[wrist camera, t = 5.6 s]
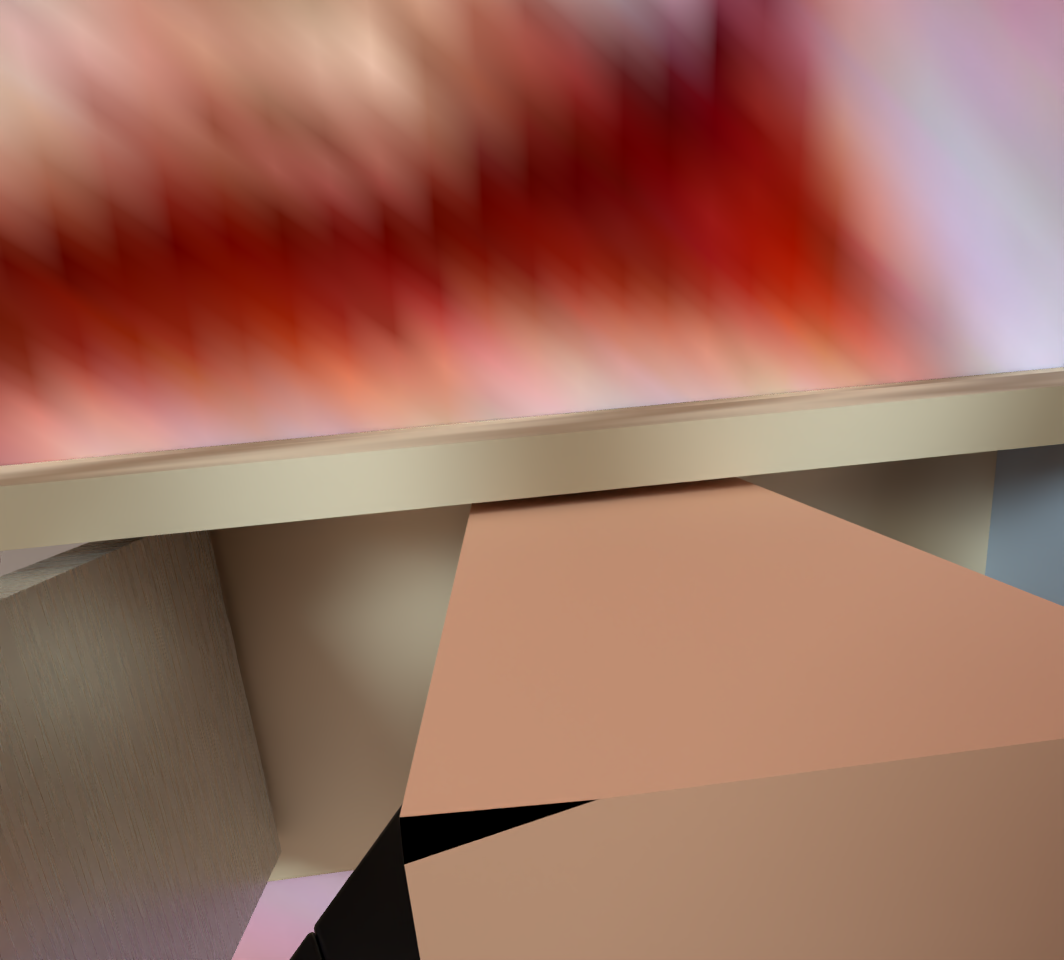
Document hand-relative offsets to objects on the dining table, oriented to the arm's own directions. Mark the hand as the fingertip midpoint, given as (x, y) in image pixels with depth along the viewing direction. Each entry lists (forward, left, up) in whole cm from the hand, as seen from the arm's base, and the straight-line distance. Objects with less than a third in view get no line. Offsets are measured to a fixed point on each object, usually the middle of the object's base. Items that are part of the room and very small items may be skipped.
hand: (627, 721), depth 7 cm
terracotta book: (0, 0, -1) cm, 1 cm away
